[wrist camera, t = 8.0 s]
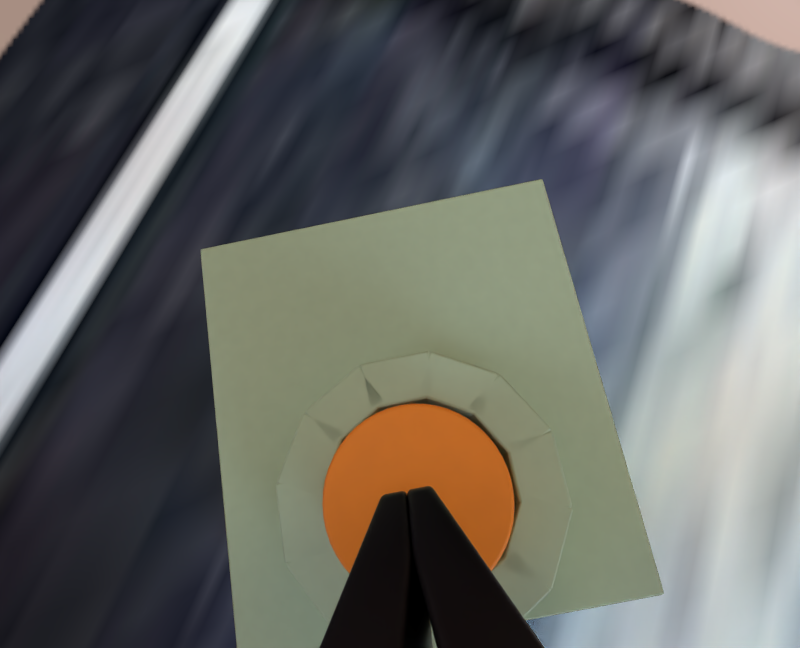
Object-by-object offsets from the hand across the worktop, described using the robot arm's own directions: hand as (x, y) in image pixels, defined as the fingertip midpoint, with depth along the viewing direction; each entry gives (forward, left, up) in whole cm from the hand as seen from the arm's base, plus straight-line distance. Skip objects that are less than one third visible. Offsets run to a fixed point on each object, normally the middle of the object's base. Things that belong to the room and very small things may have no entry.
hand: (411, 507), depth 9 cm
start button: (0, 0, -4) cm, 4 cm away
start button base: (+2, +1, -11) cm, 11 cm away
